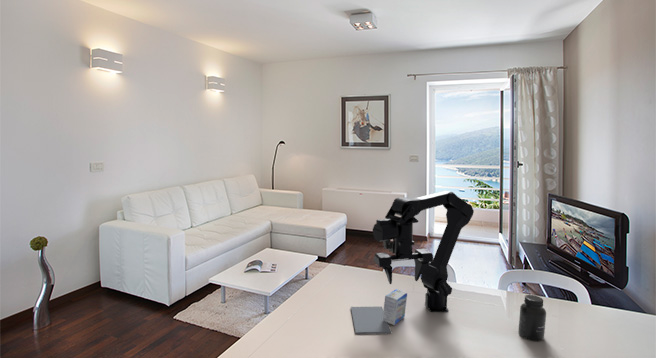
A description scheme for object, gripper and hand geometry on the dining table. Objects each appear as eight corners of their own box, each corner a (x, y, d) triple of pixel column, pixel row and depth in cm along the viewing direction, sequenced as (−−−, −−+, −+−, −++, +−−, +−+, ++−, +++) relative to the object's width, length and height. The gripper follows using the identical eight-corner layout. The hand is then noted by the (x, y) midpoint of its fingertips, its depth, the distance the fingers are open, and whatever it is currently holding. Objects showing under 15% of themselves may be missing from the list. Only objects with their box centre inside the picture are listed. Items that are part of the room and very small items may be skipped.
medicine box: (394, 326, 110) (397, 300, 109) (381, 320, 112) (384, 295, 111) (404, 317, 116) (407, 292, 115) (392, 312, 119) (395, 288, 118)
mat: (381, 308, 122) (381, 306, 122) (391, 333, 106) (391, 331, 106) (350, 308, 122) (350, 306, 122) (355, 334, 106) (355, 332, 106)
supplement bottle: (544, 344, 101) (547, 305, 99) (517, 337, 104) (520, 299, 103) (544, 333, 106) (547, 296, 105) (518, 327, 110) (521, 291, 109)
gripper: (418, 228, 122) (418, 270, 124) (368, 232, 119) (368, 275, 121) (434, 237, 112) (433, 283, 114) (379, 242, 108) (380, 289, 110)
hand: (403, 282), depth 115 cm, fingers open, 9 cm apart
